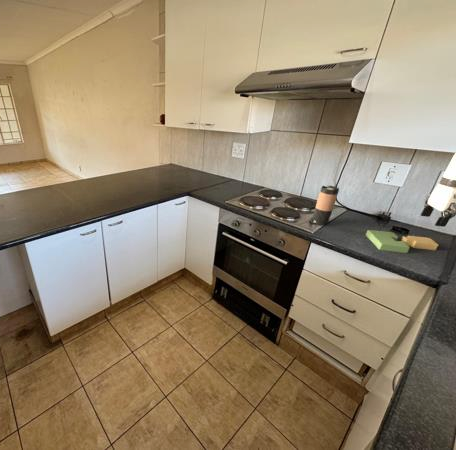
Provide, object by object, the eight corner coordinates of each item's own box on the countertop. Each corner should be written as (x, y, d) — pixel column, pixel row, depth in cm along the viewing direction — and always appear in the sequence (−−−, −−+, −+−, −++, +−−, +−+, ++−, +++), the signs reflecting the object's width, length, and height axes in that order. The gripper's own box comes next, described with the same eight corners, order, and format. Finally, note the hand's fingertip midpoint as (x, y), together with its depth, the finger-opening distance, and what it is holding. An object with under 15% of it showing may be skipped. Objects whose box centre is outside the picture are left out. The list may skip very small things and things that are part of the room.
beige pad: (426, 243, 113) (429, 237, 112) (435, 250, 108) (438, 244, 107) (398, 240, 116) (401, 234, 115) (405, 246, 111) (408, 241, 110)
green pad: (390, 237, 118) (392, 232, 117) (407, 253, 106) (410, 247, 105) (365, 235, 121) (367, 229, 120) (379, 249, 109) (382, 244, 108)
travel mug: (324, 227, 129) (336, 191, 120) (308, 222, 134) (319, 187, 125) (329, 223, 133) (341, 187, 124) (314, 218, 138) (324, 184, 129)
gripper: (483, 190, 90) (458, 231, 98) (449, 177, 105) (429, 213, 113) (457, 189, 92) (434, 229, 100) (427, 176, 107) (409, 211, 115)
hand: (432, 220), depth 106 cm, fingers open, 9 cm apart
